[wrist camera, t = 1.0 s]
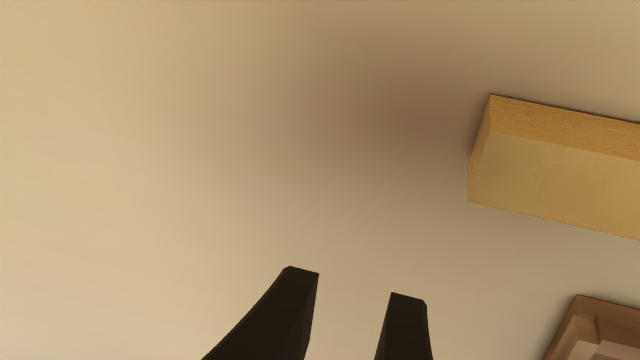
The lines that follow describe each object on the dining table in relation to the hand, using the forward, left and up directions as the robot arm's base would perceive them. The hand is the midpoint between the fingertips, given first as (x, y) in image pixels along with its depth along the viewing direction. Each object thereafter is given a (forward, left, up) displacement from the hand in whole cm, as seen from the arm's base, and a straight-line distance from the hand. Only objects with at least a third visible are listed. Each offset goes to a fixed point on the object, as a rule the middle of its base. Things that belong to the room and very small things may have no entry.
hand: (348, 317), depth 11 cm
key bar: (0, -6, -9) cm, 11 cm away
